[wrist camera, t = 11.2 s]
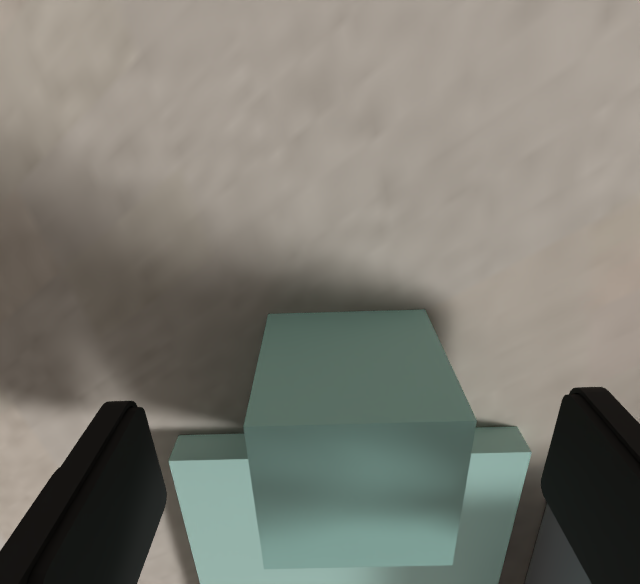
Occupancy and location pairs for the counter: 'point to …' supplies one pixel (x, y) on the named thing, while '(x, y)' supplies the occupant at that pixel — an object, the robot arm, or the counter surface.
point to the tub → (554, 556)
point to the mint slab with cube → (352, 464)
